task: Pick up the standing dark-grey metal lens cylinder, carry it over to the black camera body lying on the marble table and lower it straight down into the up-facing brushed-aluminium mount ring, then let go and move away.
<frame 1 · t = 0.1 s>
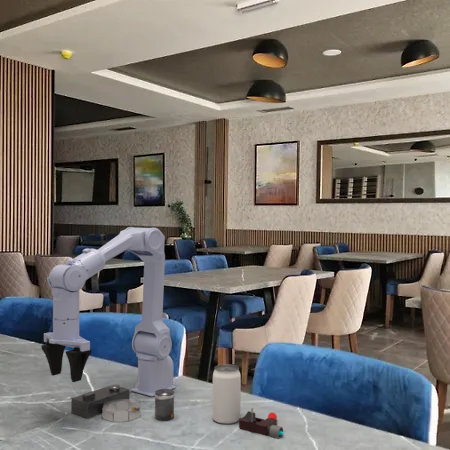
hand: (66, 377, 122), 10 cm above the table, tool pointing down, fingers open, 7 cm apart
toy gun: (267, 429, 120), on the table
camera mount: (121, 414, 127), on the table
lens: (164, 417, 126), on the table
can: (226, 420, 125), on the table
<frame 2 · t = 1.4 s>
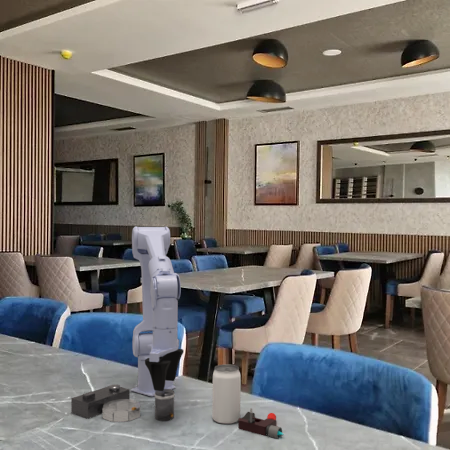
hand: (164, 385, 125), 8 cm above the table, tool pointing down, fingers open, 7 cm apart
nothing on the table moved.
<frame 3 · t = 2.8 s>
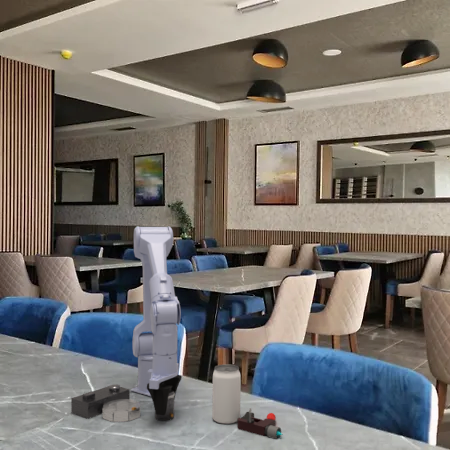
hand: (164, 410, 126), 2 cm above the table, tool pointing down, fingers closed on lens, 4 cm apart
lens: (164, 417, 126), on the table, touching gripper
everything else where it was.
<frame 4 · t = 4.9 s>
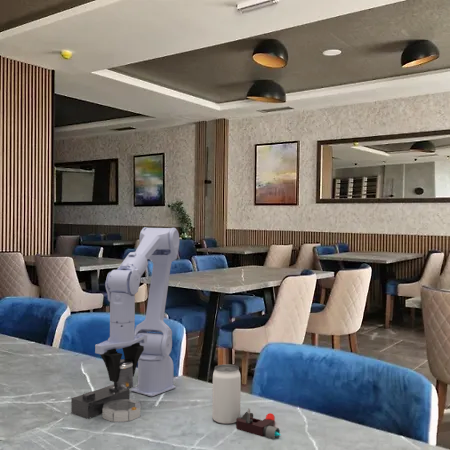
hand: (122, 378, 127), 9 cm above the table, tool pointing down, fingers closed on lens, 4 cm apart
lens: (123, 387, 127), point 7 cm above the table, touching gripper
everything else where it was.
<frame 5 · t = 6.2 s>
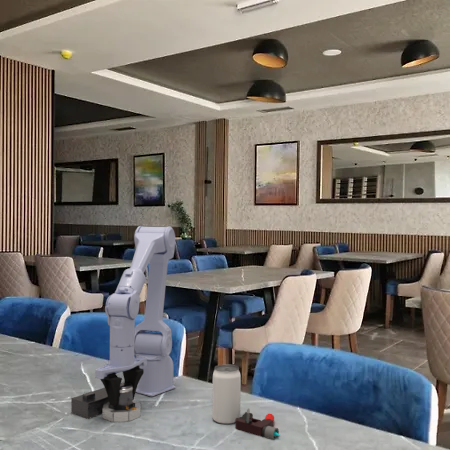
hand: (121, 402, 127), 3 cm above the table, tool pointing down, fingers closed on lens, 4 cm apart
lens: (123, 410, 127), point 1 cm above the table, touching gripper
everything else where it was.
when the fingers open (3 cm above the table, at t = 7.0 s): lens drops 1 cm, resting in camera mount.
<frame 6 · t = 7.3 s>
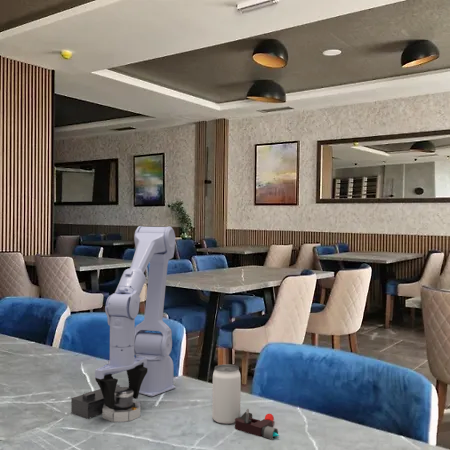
hand: (121, 402, 127), 3 cm above the table, tool pointing down, fingers open, 7 cm apart
lens: (123, 415, 127), resting in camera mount
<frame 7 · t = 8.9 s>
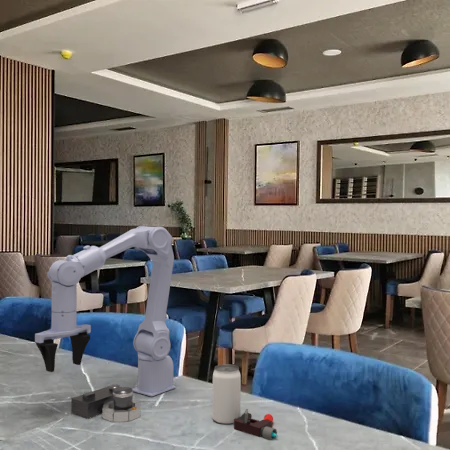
hand: (63, 367, 129), 10 cm above the table, tool pointing down, fingers open, 7 cm apart
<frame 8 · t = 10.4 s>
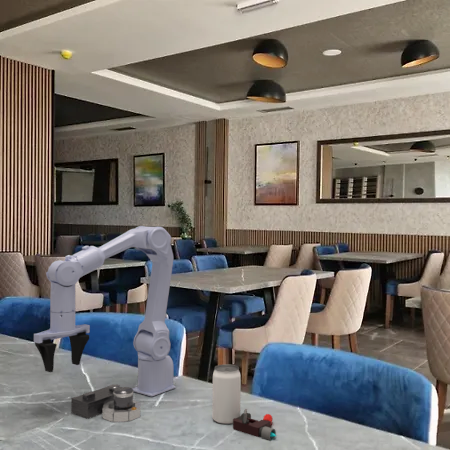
hand: (62, 367, 129), 10 cm above the table, tool pointing down, fingers open, 7 cm apart
at the end: lens 0.5 cm off-centre on the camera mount, point 0.0 cm above the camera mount's base; lens tilted 1°; the gripper is holding nothing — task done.
